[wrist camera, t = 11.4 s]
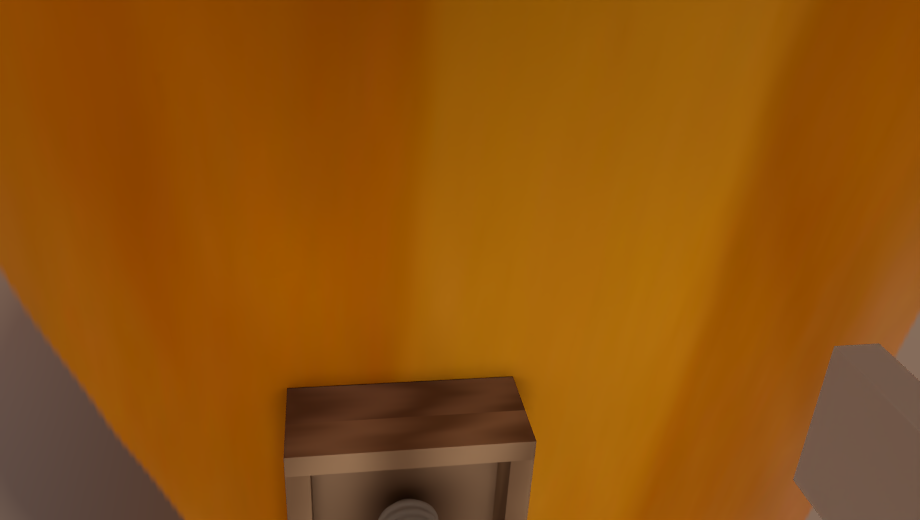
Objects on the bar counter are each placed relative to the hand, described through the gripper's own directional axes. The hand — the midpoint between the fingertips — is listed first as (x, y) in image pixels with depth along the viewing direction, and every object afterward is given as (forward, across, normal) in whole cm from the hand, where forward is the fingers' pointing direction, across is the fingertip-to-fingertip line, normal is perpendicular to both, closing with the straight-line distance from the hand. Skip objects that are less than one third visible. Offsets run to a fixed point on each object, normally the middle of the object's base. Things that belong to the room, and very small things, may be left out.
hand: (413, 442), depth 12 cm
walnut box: (+26, +2, -25) cm, 36 cm away
